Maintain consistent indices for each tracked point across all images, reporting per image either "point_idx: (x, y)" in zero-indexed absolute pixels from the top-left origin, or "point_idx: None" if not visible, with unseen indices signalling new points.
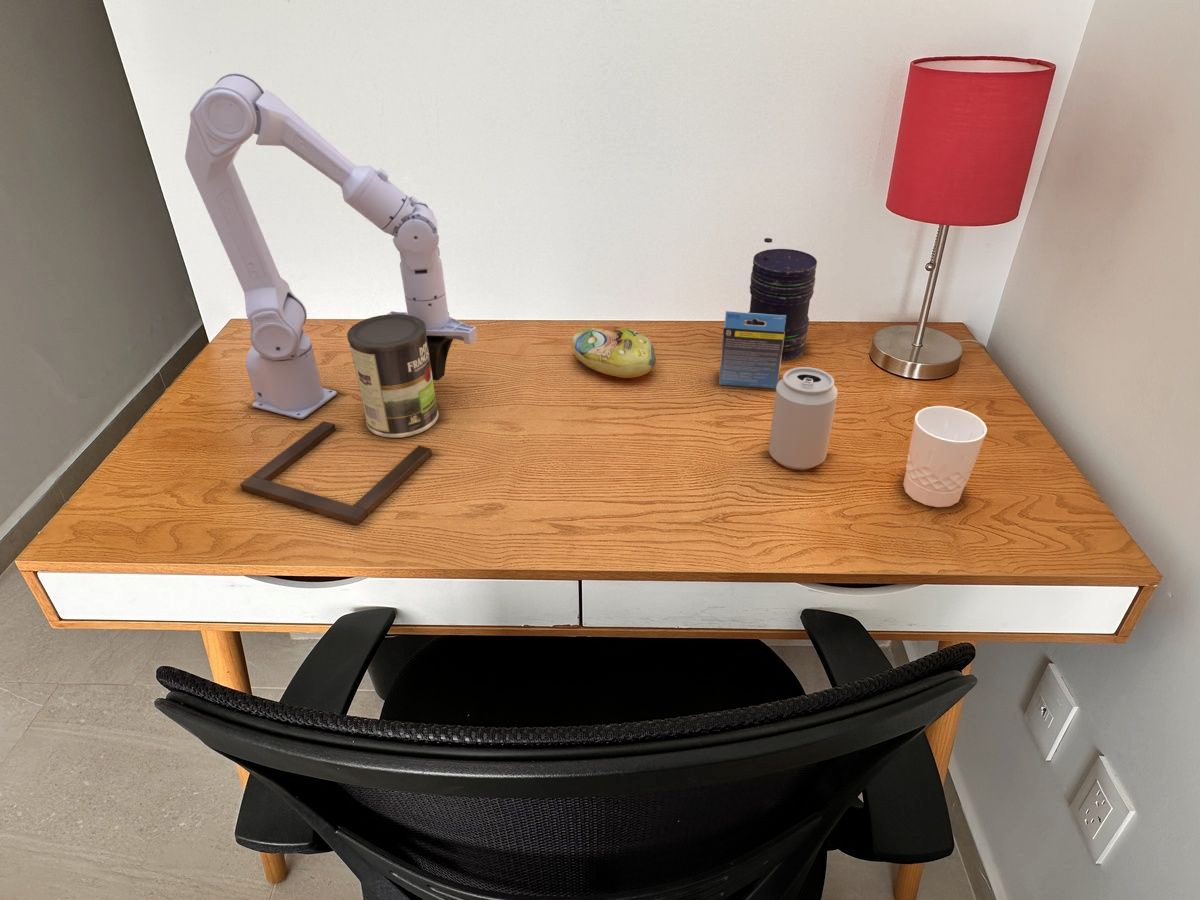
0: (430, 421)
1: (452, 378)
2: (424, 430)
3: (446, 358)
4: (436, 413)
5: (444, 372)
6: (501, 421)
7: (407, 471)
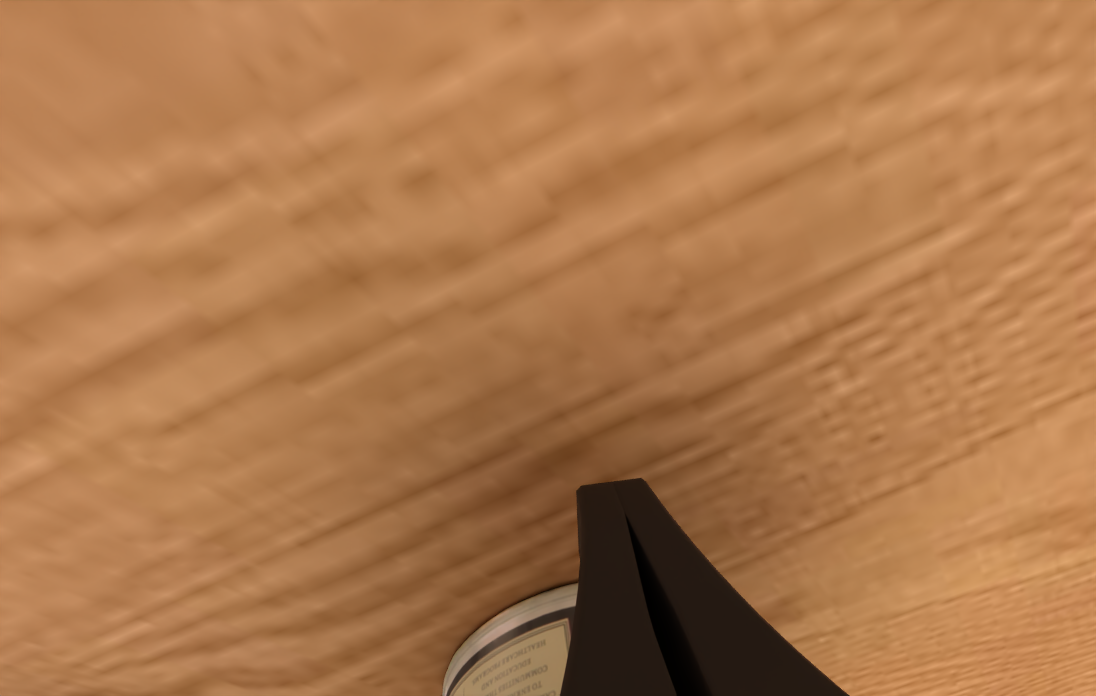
0: None
1: (604, 327)
2: None
3: (725, 582)
4: None
5: (653, 494)
6: (1036, 517)
7: None
